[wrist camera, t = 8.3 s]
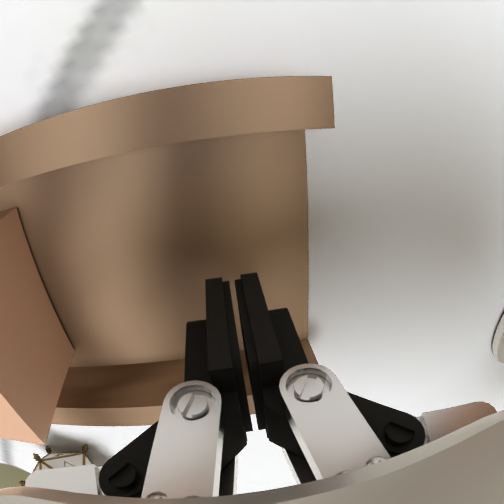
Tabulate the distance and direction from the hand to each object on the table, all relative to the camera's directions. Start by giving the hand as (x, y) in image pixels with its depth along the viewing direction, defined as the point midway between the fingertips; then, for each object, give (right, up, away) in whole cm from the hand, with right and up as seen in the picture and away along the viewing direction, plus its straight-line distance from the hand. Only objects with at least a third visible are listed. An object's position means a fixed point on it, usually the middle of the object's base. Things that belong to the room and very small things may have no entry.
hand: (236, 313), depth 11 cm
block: (-12, 0, +2) cm, 12 cm away
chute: (-8, +1, +3) cm, 9 cm away
